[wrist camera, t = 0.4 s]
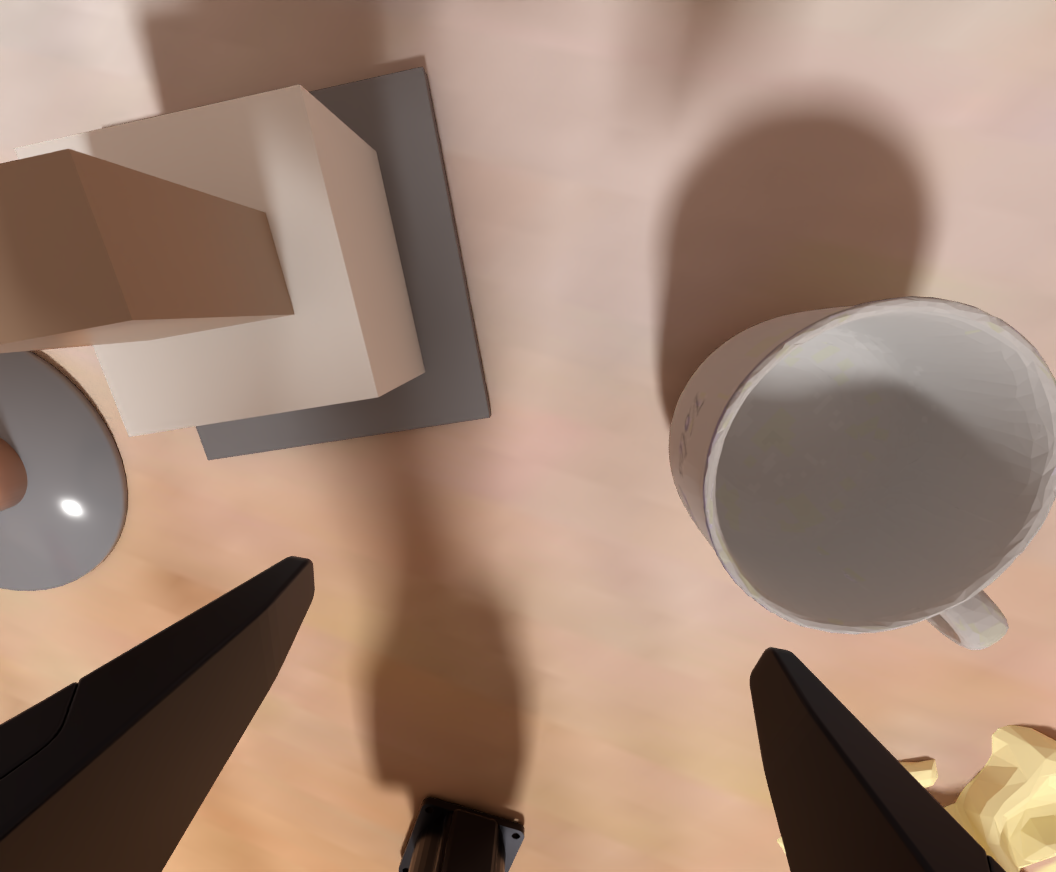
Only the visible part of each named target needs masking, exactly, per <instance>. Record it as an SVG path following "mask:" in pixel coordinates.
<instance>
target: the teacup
mask: <svg viewBox="0 0 1056 872" xmlns="http://www.w3.org/2000/svg"><path fill="white" fill-rule="evenodd" d="M669 459H670V467H671V472H672V476H673V480H674V483H675V486H676V489H677V491H678V494H679V496H680V498H681V500H682V502H683V504H684V506H685V508H686V510H687V511H688V513H689V515H690V517H691V518H692V520H693V521H694V523H695V524H696V526H697V527H698V529H699V530H700V531H701V533H702V534H703V535H704V537H705V538H706V539H707V541H708V542H709V543H710V545H711V546H712V547H713V549H714V550H715V552H716V554H717V556H718V558H719V560H720V561H721V563H722V565H723V566H724V568H725V570H726V571H727V572H728V574H729V575H730V576H731V578H732V579H733V580H734V582H735V583H736V584H737V585H738V586H739V587H740V588H741V589H742V590H743V591H744V592H745V593H746V594H747V595H748V596H750V597H752V598H753V599H754V600H755V601H756V602H758V603H759V604H760V605H762V606H763V607H764V608H766V609H767V610H769V611H770V612H772V613H775V614H776V615H778V616H779V617H781V618H783V619H785V620H787V621H790V622H792V623H795V624H797V625H800V626H802V627H807V628H811V629H816V630H821V631H826V632H831V633H843V634H861V633H877V632H883V631H888V630H894V629H898V628H902V627H906V626H909V625H912V624H915V623H918V622H920V621H923V620H927V621H928V622H929V623H931V624H932V625H933V626H934V627H935V628H936V629H937V630H939V631H940V632H941V633H942V634H943V635H945V636H946V637H948V638H949V639H951V640H952V641H953V642H955V643H956V644H958V645H960V646H962V647H964V648H967V649H970V650H981V649H984V648H987V647H989V646H991V645H992V644H994V643H996V642H997V641H999V640H1000V639H1001V638H1002V637H1003V636H1004V635H1005V634H1006V632H1007V630H1008V628H1009V627H1008V623H1007V620H1006V618H1005V616H1004V615H1003V614H1002V612H1001V611H1000V609H999V608H998V607H997V605H996V604H995V603H994V602H993V601H992V600H991V599H990V598H989V596H988V595H987V594H986V593H985V592H984V591H983V589H984V588H986V587H987V586H988V585H990V584H991V583H992V582H993V581H995V580H996V579H997V578H998V577H999V576H1000V575H1001V574H1002V573H1003V572H1004V571H1005V570H1006V569H1007V568H1008V567H1009V566H1010V565H1011V564H1012V563H1013V561H1014V560H1015V559H1016V557H1018V556H1019V555H1020V554H1021V553H1022V552H1023V551H1024V550H1025V548H1026V547H1027V546H1028V544H1029V543H1030V542H1031V540H1032V539H1033V538H1034V536H1035V535H1036V534H1037V532H1038V531H1039V530H1040V528H1041V527H1042V525H1043V523H1044V521H1045V519H1046V518H1047V516H1048V513H1049V511H1050V509H1051V506H1052V504H1053V502H1054V500H1055V497H1056V381H1055V378H1054V377H1053V375H1052V373H1051V371H1050V370H1049V368H1048V366H1047V364H1046V363H1045V361H1044V360H1043V358H1042V357H1041V355H1040V354H1039V352H1038V351H1037V349H1036V348H1035V347H1034V346H1033V345H1032V344H1031V343H1030V342H1029V341H1028V340H1027V339H1026V338H1025V337H1023V336H1022V335H1021V334H1020V333H1019V332H1018V331H1016V330H1015V329H1014V328H1013V327H1012V326H1010V325H1009V324H1007V323H1006V322H1004V321H1003V320H1001V319H999V318H997V317H994V316H992V315H990V314H988V313H986V312H984V311H982V310H980V309H978V308H976V307H974V306H970V305H967V304H963V303H960V302H955V301H950V300H944V299H939V298H933V297H914V296H910V297H901V298H891V299H884V300H878V301H872V302H867V303H863V304H859V305H855V306H846V307H834V308H826V309H818V310H811V311H803V312H798V313H793V314H788V315H784V316H780V317H777V318H773V319H770V320H767V321H764V322H762V323H759V324H757V325H755V326H752V327H750V328H748V329H746V330H744V331H742V332H740V333H739V334H737V335H735V336H734V337H732V338H731V339H729V340H728V341H726V342H725V343H723V344H722V345H721V346H720V347H719V348H717V349H716V350H715V351H714V352H713V353H711V354H710V355H709V356H708V357H707V358H706V359H705V361H704V362H703V363H702V364H701V365H700V366H699V367H698V369H697V370H696V371H695V373H694V374H693V375H692V377H691V378H690V379H689V381H688V383H687V385H686V386H685V388H684V390H683V392H682V393H681V395H680V398H679V400H678V402H677V405H676V408H675V411H674V414H673V418H672V422H671V426H670V435H669Z"/></svg>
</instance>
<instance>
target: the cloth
mask: <svg viewBox="0 0 1056 872" xmlns="http://www.w3.org/2000/svg"><path fill="white" fill-rule="evenodd" d="M900 763H901V764H902V765H903V766H904V768H905V769H906V770H907V771H908V772H909V773H910V774H911V775H912V776H913V777H914V778H915V779H916V780H917V781H918V782H919V783H920V784H921V785H922V786H923V787H924V788H926V787H930V786H933V784H934V783H935V781H936V779H937V778H938V774H937V769H936V763H935V759H933V760H926V761H920V762H900ZM944 809H945V810H946V811H947V812H948V813H949V814H950V815H951V816H952V817H953V818H954V819H955V820H956V821H957V822H958V823H959V824H960V825H961V826H962V827H963V828H964V829H965V830H966V831H967V832H968V833H969V834H970V835H971V836H972V837H973V838H974V839H975V840H976V841H977V842H978V843H979V844H980V845H981V846H982V847H983V849H984V850H985V851H986V854H987V855H989V856H991V857H992V858H993V859H994V860H995V861H996V862H997V863H998V864H999V865H1000V866H1001V867H1002V868H1003V869H1004V870H1005V871H1006V872H1020V869H1021V868H1023V867H1025V866H1028V865H1031V864H1033V863H1036V862H1039V861H1043V860H1045V859H1048V858H1051V857H1054V856H1056V740H1054V739H1052V738H1050V737H1047V736H1046V735H1044V734H1042V733H1040V732H1038V731H1036V730H1034V729H1032V728H1028V727H1022V726H1016V725H1008V726H1005V727H1002V728H998V730H997V731H996V732H995V733H994V734H992V755H991V757H990V758H989V760H988V762H987V764H986V765H985V767H984V768H983V769H982V770H981V771H980V772H979V773H978V774H977V776H976V777H975V778H974V779H973V780H972V781H971V782H969V783H968V784H967V785H966V786H965V788H964V789H963V790H962V792H961V793H960V795H959V796H958V798H957V800H956V802H955V803H953V804H951V805H949V806H946V807H944ZM777 842H778V843H779V845H780V846H781V847H782V849H783V851H784V853H785V854H786V852H785V848H784V844H783V841H782V837H781V838H779V839H778V840H777ZM1038 872H1056V862H1055V863H1053V864H1050V865H1048V866H1046V867H1044V868H1042V869H1041V870H1039V871H1038Z"/></svg>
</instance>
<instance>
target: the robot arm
mask: <svg viewBox="0 0 1056 872" xmlns="http://www.w3.org/2000/svg"><path fill="white" fill-rule="evenodd" d="M314 590H315V587H314V571H313V563H312V561H311V560H309V559H306V558H301V557H296V556H290V557H287V558H285V559H284V560H282V561H280V562H278V563H277V564H275V565H273V566H272V567H270V568H268V569H267V570H265V571H263V572H261V573H260V574H258V575H256V576H255V577H253V578H251V579H250V580H248V581H246V582H244V583H243V584H241V585H239V586H238V587H236V588H234V589H232V590H231V591H229V592H227V593H226V594H224V595H222V596H221V597H219V598H217V599H215V600H214V601H212V602H210V603H209V604H207V605H205V606H204V607H202V608H200V609H198V610H197V611H195V612H193V613H192V614H190V615H188V616H186V617H185V618H183V619H181V620H180V621H178V622H176V623H175V624H173V625H171V626H169V627H168V628H166V629H164V630H163V631H161V632H159V633H158V634H156V635H154V636H152V637H151V638H149V639H147V640H146V641H144V642H142V643H140V644H139V645H137V646H135V647H134V648H132V649H130V650H129V651H127V652H125V653H123V654H122V655H120V656H118V657H117V658H115V659H113V660H112V661H110V662H108V663H106V664H105V665H103V666H101V667H100V668H98V669H96V670H94V671H93V672H91V673H89V674H88V675H86V676H84V677H83V678H81V679H80V680H79V682H78V683H76V682H75V683H72V684H70V685H69V686H67V687H65V688H63V689H62V690H60V691H58V692H57V693H55V694H53V695H52V696H50V697H48V698H46V699H45V700H43V701H41V702H39V703H38V704H36V705H34V706H32V707H31V708H29V709H27V710H25V711H24V712H22V713H20V714H18V715H17V716H15V717H13V718H11V719H9V720H8V721H6V722H4V723H2V724H1V725H0V872H162V870H163V868H164V867H165V865H166V863H167V861H168V860H169V858H170V856H171V855H172V853H173V851H174V850H175V848H176V846H177V845H178V843H179V841H180V840H181V838H182V836H183V835H184V833H185V831H186V829H187V828H188V826H189V824H190V823H191V821H192V819H193V818H194V816H195V814H196V813H197V811H198V809H199V808H200V806H201V804H202V803H203V801H204V799H205V797H206V796H207V794H208V792H209V791H210V789H211V787H212V786H213V784H214V782H215V781H216V779H217V777H218V776H219V774H220V772H221V770H222V769H223V767H224V765H225V764H226V762H227V760H228V759H229V757H230V755H231V754H232V752H233V750H234V749H235V747H236V745H237V744H238V742H239V740H240V738H241V737H242V735H243V733H244V732H245V730H246V728H247V727H248V725H249V723H250V722H251V720H252V718H253V717H254V715H255V713H256V711H257V710H258V708H259V706H260V705H261V703H262V701H263V700H264V698H265V696H266V695H267V693H268V691H269V690H270V688H271V686H272V684H273V682H274V681H275V679H276V677H277V675H278V673H279V671H280V669H281V667H282V665H283V663H284V660H285V658H286V656H287V654H288V652H289V650H290V648H291V645H292V643H293V641H294V639H295V637H296V635H297V632H298V630H299V628H300V626H301V624H302V622H303V619H304V617H305V615H306V613H307V611H308V609H309V606H310V604H311V602H312V599H313V596H314ZM750 690H751V696H752V702H753V708H754V714H755V720H756V726H757V732H758V738H759V744H760V750H761V756H762V762H763V767H764V771H765V776H766V780H767V784H768V788H769V791H770V795H771V799H772V803H773V807H774V810H775V814H776V818H777V822H778V825H779V829H780V833H781V837H782V841H783V844H784V848H785V852H786V856H787V860H788V863H789V867H790V871H791V872H1006V871H1005V870H1004V869H1003V868H1002V867H1001V866H1000V865H999V864H998V863H997V862H996V861H995V860H994V859H993V858H992V857H991V856H989V855H987V854H986V851H985V850H984V849H983V847H982V846H981V845H980V844H979V843H978V842H977V841H976V840H975V839H974V838H973V837H972V836H971V835H970V834H969V833H968V832H967V831H966V830H965V829H964V828H963V827H962V826H961V825H960V824H959V823H958V822H957V821H956V820H955V819H954V818H953V817H952V816H951V815H950V814H949V813H948V812H947V811H946V810H945V809H944V808H943V806H942V805H941V804H940V803H939V802H938V801H937V800H936V799H935V798H934V797H933V796H932V795H931V794H930V793H929V792H928V791H927V790H926V789H925V788H924V787H923V786H922V785H921V784H920V783H919V782H918V781H917V780H916V779H915V778H914V777H913V776H912V775H911V774H910V773H909V772H908V771H907V770H906V769H905V768H904V766H903V765H902V764H901V763H900V762H899V761H898V760H897V759H896V758H895V757H894V756H893V755H892V754H891V753H890V752H889V751H888V750H887V749H886V748H885V747H884V746H883V745H882V744H881V743H880V742H879V741H878V740H877V739H876V738H875V737H874V736H873V735H872V734H871V733H870V732H869V731H868V730H867V729H866V728H865V727H864V725H863V724H862V723H861V722H860V721H859V720H858V719H857V718H856V717H855V716H854V715H853V714H852V713H851V712H850V711H849V710H848V709H847V708H846V707H845V706H844V705H843V704H842V703H841V702H840V701H839V700H838V699H837V698H836V697H835V696H834V695H833V694H832V693H831V692H830V691H829V690H828V689H827V688H826V687H825V685H824V684H823V683H822V682H821V681H820V680H819V679H818V678H817V677H816V676H815V675H814V674H813V673H812V672H811V671H810V670H809V669H808V668H807V667H806V666H805V665H804V664H803V663H802V662H801V661H800V660H799V659H798V658H797V657H796V656H795V655H794V654H793V653H792V652H790V651H788V650H783V649H778V648H773V647H769V648H768V649H766V650H765V651H764V653H763V654H762V656H761V657H760V659H759V661H758V662H757V664H756V666H755V667H754V669H753V670H752V672H751V676H750ZM523 839H524V827H523V826H522V825H521V824H519V823H516V822H512V821H509V820H506V819H502V818H499V817H496V816H492V815H489V814H486V813H482V812H479V811H476V810H472V809H469V808H466V807H462V806H459V805H456V804H452V803H449V802H446V801H442V800H439V799H436V798H432V797H428V798H425V799H424V800H423V803H422V805H421V808H420V811H419V813H418V816H417V819H416V822H415V824H414V827H413V830H412V832H411V835H410V838H409V841H408V843H407V846H406V849H405V851H404V854H403V857H402V860H401V862H400V866H399V872H508V871H509V869H510V867H511V865H512V863H513V861H514V858H515V856H516V854H517V852H518V850H519V848H520V845H521V843H522V841H523Z"/></svg>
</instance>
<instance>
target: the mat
mask: <svg viewBox="0 0 1056 872" xmlns="http://www.w3.org/2000/svg"><path fill="white" fill-rule="evenodd" d="M309 93H310V94H311V95H313V96H314V97H315V98H316V99H317V100H318V101H319V102H321V103H322V104H323V105H324V106H325V107H326V108H327V109H328V110H330V111H331V112H332V113H333V114H334V115H335V116H336V117H338V118H339V119H340V120H341V121H342V122H343V123H344V124H345V125H347V126H348V127H349V128H350V129H351V130H352V131H353V132H355V133H356V134H357V135H358V136H359V137H360V138H361V139H363V140H364V141H365V142H366V143H367V144H368V145H369V146H370V147H372V148H373V149H374V150H375V151H376V153H377V157H378V162H379V166H380V171H381V175H382V180H383V184H384V189H385V193H386V198H387V202H388V207H389V211H390V216H391V220H392V225H393V229H394V234H395V238H396V243H397V247H398V252H399V256H400V261H401V265H402V270H403V274H404V279H405V283H406V288H407V292H408V297H409V301H410V306H411V310H412V315H413V319H414V324H415V329H416V333H417V338H418V342H419V347H420V351H421V356H422V360H423V365H424V369H425V373H423V374H421V375H419V376H418V377H416V378H414V379H412V380H410V381H408V382H406V383H404V384H402V385H401V386H399V387H397V388H395V389H393V390H391V391H389V392H387V393H386V394H384V395H382V396H380V397H377V398H371V399H365V400H358V401H352V402H346V403H339V404H333V405H327V406H321V407H314V408H308V409H302V410H295V411H289V412H283V413H277V414H270V415H264V416H258V417H251V418H245V419H239V420H233V421H226V422H220V423H214V424H208V425H201V426H196V428H197V431H198V434H199V437H200V439H201V442H202V445H203V448H204V451H205V453H206V456H207V459H208V460H213V459H220V458H227V457H233V456H240V455H246V454H253V453H259V452H266V451H273V450H279V449H286V448H292V447H299V446H305V445H312V444H319V443H325V442H332V441H338V440H345V439H352V438H358V437H365V436H371V435H378V434H384V433H391V432H398V431H404V430H411V429H417V428H424V427H431V426H437V425H444V424H450V423H457V422H463V421H470V420H477V419H483V418H490V416H491V411H490V406H489V400H488V395H487V390H486V385H485V379H484V374H483V369H482V363H481V358H480V353H479V348H478V342H477V337H476V332H475V327H474V321H473V316H472V311H471V306H470V300H469V295H468V290H467V284H466V279H465V274H464V269H463V263H462V258H461V253H460V248H459V242H458V237H457V232H456V227H455V221H454V216H453V211H452V206H451V200H450V195H449V190H448V184H447V179H446V174H445V169H444V163H443V158H442V153H441V148H440V142H439V137H438V132H437V127H436V121H435V116H434V111H433V105H432V100H431V95H430V90H429V84H428V79H427V74H426V72H425V70H424V68H423V67H419V68H414V69H410V70H405V71H401V72H396V73H392V74H387V75H383V76H378V77H374V78H369V79H365V80H360V81H356V82H351V83H347V84H342V85H338V86H333V87H329V88H324V89H320V90H315V91H311V92H309Z"/></svg>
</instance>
